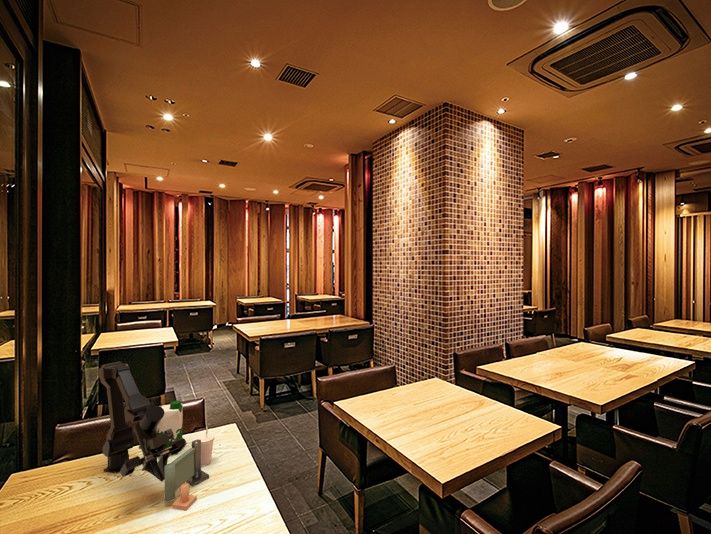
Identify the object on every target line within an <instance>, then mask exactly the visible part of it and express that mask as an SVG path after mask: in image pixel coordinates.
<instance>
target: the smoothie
mask: <svg viewBox="0 0 711 534" xmlns="http://www.w3.org/2000/svg"><path fill="white" fill-rule="evenodd" d="M196 440H201V466H202V465H205V466H208V465H210V464H211V463H210V462H212V456H213V455H212V454H213V446H214V441H215V435H214V434H211V433H208V426H205V434H202V435H200V436H199V437H198V436H197V438H196ZM209 463H210V464H209ZM207 464H208V465H207Z"/></svg>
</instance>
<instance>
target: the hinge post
mask: <svg viewBox="0 0 711 534" xmlns="http://www.w3.org/2000/svg"><path fill="white" fill-rule="evenodd" d="M191 448H195V453H194V475H193V476H192V477H191V478H190V479H189V480H188V481H186V482H185V483H189V486H191V487H192V488H194V487H196V486H198V485H199V484H201V483H203V482H205V481H207V480H208V479H210V474H209V473H207V472H205V471H203V470H202V465H201V440H197V439H195V440H192V441H191Z"/></svg>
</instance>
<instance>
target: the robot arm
mask: <svg viewBox="0 0 711 534" xmlns="http://www.w3.org/2000/svg"><path fill="white" fill-rule="evenodd" d="M97 375H98V378H99V379H100V383H101V384H102V385H103V386H104V387H105V388H106V393H107V394H106V395H107V403H108V413H109V414H108V415H109V421H110V422H109V423H110V428H109V429H108V432H107V434H106V441H105V443H104V444H103V446H102V447H101V448H102V449H101V450H102V455H103V456H105V457H106V458H107V467H106V468H103V472H110V473H116V474H117V473H120V474H121V477H122V478H124V477H127V476H130V475H131V474H133V473H134V471H135V470H136V468H137V467H140V466H142V469H141V472H144V471H146V472H147V473H148V474H150V475H152V476H154V478H156V479H157V480H158V481H160V482H161V483H163V482H165V470H164V467H165V465H167V464H168V461H169V458H170V456H175V455H177V454H176V453H178V454H179V453H180V452H182V450H184V448H185V447H186V446H187V444H188V443H187V440H186V438H184V437H182V438H180V439H177V440H175V441H172V443H171V444H170V446H169V447H167V448H163V447H165V446H166V444H168V443H170V442H169V440H170V439H172V438H174V434H173V431H172V429H169V430H166V431H164V435H161V434H160V433H157V426H158V424H159V422H160V421H161V419H162V418H163V416H164V409H162V408H161V407H162V406H160V405H156V404H155V403H154V402H152V403H150V401H149V400H148V398H147V397H146V396H143V395H142V394H141V393H140V392H139V389H138V387H137V384H136V382H135V380H134V377H133V375H132V374H131V367H130V366H129V364H128V363H123V361H116V362H112V363H111V362H110V363H106V364H102V365H101V366H100V368H98V370H97ZM124 402H125V404H124ZM136 422H137V423H136ZM128 423H131V424H133V423H136V424H135V425H134V427H132V426H130V425H129V424H128ZM134 434H135V435H136V438H137V443H138V444H139V446H138V449H139V450H141V452H142V457H140V456H138V455H137V456H134V457H132V458H130V454H129V450H131V449H133V447H134V444H135V439H136V438H135V435H134ZM174 454H175V455H174Z"/></svg>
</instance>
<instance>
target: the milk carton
mask: <svg viewBox="0 0 711 534" xmlns="http://www.w3.org/2000/svg"><path fill="white" fill-rule="evenodd" d="M183 406H184V404H183V403H182V401H181V400H173V401H170V403H169V404H164V405H162V406H160V407H161V408H162V409H164V416H163V418H162V419H161V421H160V422H159V424H158V426H157V427H156V430H157V433H160V434H161V435H164V431H166V430H169V429H172V431H173V434H174V438H172V439H170V440H169V442H170V443H168V444H166V446H165V447H163V448H167V447H169V446H170V444H171V443H172V441H175V440H177V439H180V438H183ZM178 454H179V453H176V454H174V455H173V456H175V455H178Z"/></svg>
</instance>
